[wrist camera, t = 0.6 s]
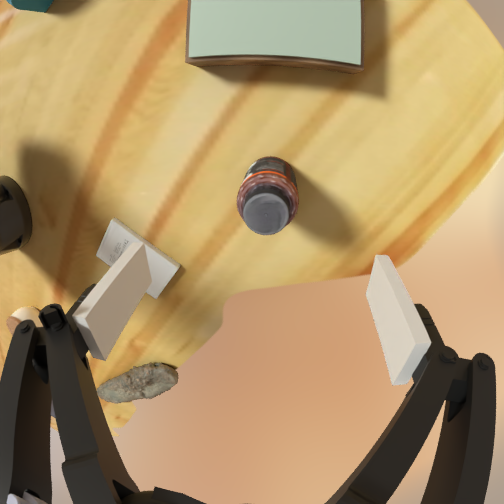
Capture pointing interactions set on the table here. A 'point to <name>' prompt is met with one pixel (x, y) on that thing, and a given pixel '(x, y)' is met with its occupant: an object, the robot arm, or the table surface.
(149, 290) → the external hard drive
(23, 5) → the camera mount
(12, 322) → the lidded jar
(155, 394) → the elongated rock
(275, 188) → the supplement bottle
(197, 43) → the walnut stand
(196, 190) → the table surface
